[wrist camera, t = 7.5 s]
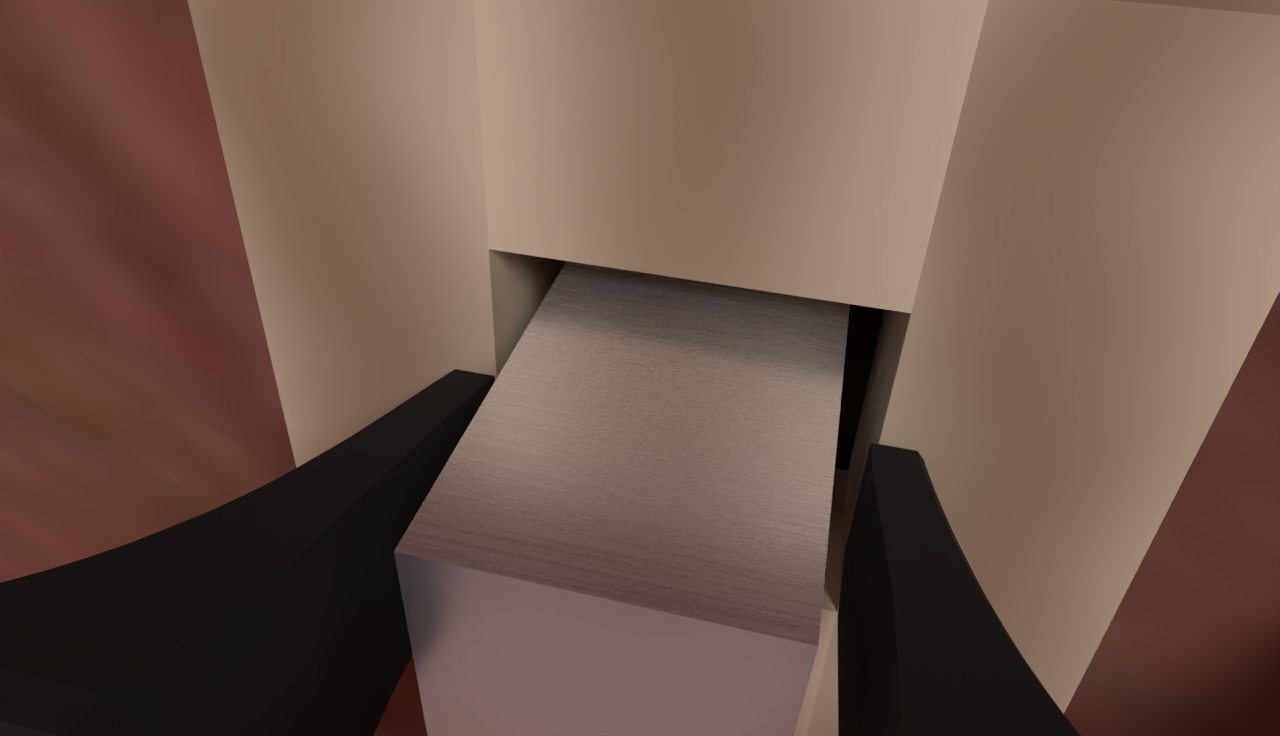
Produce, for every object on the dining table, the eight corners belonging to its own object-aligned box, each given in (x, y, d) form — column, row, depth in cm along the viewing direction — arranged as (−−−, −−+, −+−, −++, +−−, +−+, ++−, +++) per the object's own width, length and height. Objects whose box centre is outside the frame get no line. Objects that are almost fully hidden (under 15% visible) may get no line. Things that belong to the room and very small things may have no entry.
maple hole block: (1284, -41, 11) (1414, 27, 8) (1000, 642, 18) (1019, 802, 16) (323, -119, 13) (168, -86, 10) (413, 519, 21) (336, 639, 18)
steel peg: (857, 224, 14) (818, 645, 8) (815, 417, 17) (760, 855, 10) (610, 187, 15) (393, 551, 9) (604, 378, 17) (434, 770, 11)
